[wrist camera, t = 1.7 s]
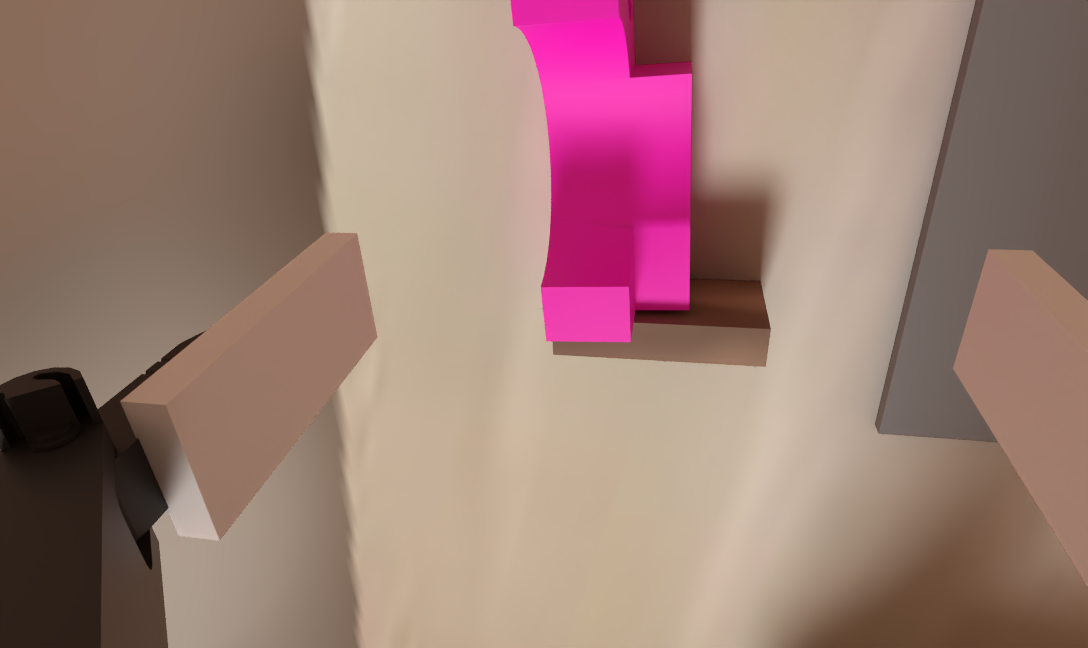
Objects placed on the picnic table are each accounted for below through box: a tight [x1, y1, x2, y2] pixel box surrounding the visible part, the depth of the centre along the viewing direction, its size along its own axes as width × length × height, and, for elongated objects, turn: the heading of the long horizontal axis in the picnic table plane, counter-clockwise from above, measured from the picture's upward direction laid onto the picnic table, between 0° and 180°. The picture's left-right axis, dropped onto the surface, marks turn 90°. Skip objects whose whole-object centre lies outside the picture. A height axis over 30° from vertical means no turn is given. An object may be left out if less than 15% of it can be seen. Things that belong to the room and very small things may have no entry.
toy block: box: [511, 0, 692, 342], centre depth 29 cm, size 15×6×8 cm, turn 6°
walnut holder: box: [553, 279, 771, 367], centre depth 29 cm, size 21×10×5 cm, turn 3°
